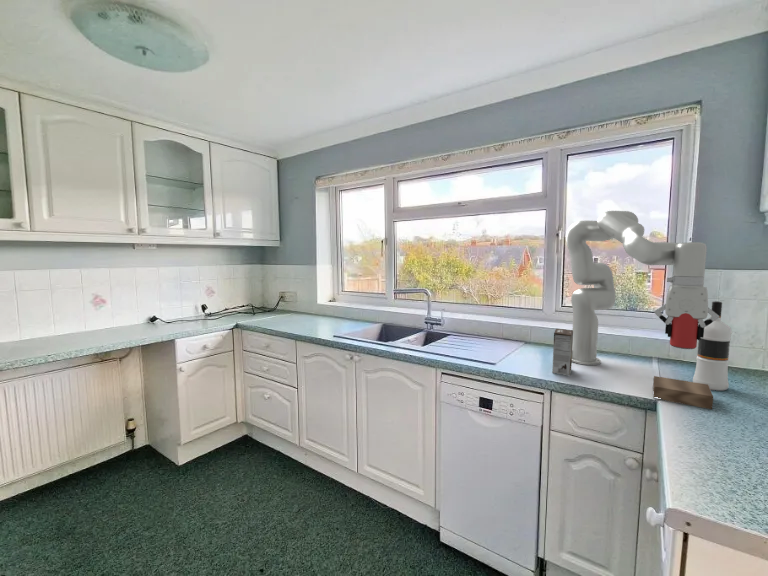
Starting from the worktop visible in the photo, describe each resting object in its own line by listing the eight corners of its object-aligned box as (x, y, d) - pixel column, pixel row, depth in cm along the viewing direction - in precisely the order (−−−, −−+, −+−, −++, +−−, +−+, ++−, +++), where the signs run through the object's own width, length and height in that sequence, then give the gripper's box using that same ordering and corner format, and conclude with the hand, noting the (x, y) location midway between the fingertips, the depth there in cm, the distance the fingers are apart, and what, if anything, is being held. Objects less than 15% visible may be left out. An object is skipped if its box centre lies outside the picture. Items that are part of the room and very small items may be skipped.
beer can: (669, 343, 119) (672, 307, 118) (696, 346, 115) (699, 309, 114) (669, 347, 114) (672, 310, 113) (696, 350, 110) (699, 312, 109)
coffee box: (554, 366, 148) (555, 328, 146) (571, 369, 144) (573, 329, 143) (551, 373, 140) (553, 332, 138) (570, 376, 136) (572, 334, 135)
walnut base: (653, 398, 115) (654, 386, 115) (653, 387, 125) (654, 375, 125) (712, 409, 107) (713, 396, 107) (706, 396, 117) (707, 384, 116)
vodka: (685, 381, 130) (692, 299, 127) (712, 382, 130) (719, 299, 127) (707, 391, 121) (714, 303, 118) (736, 391, 120) (744, 303, 117)
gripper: (653, 281, 115) (649, 336, 116) (727, 284, 104) (722, 344, 106) (653, 280, 121) (649, 332, 122) (723, 282, 110) (718, 339, 112)
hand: (683, 337), depth 114 cm, fingers closed on beer can, 6 cm apart
